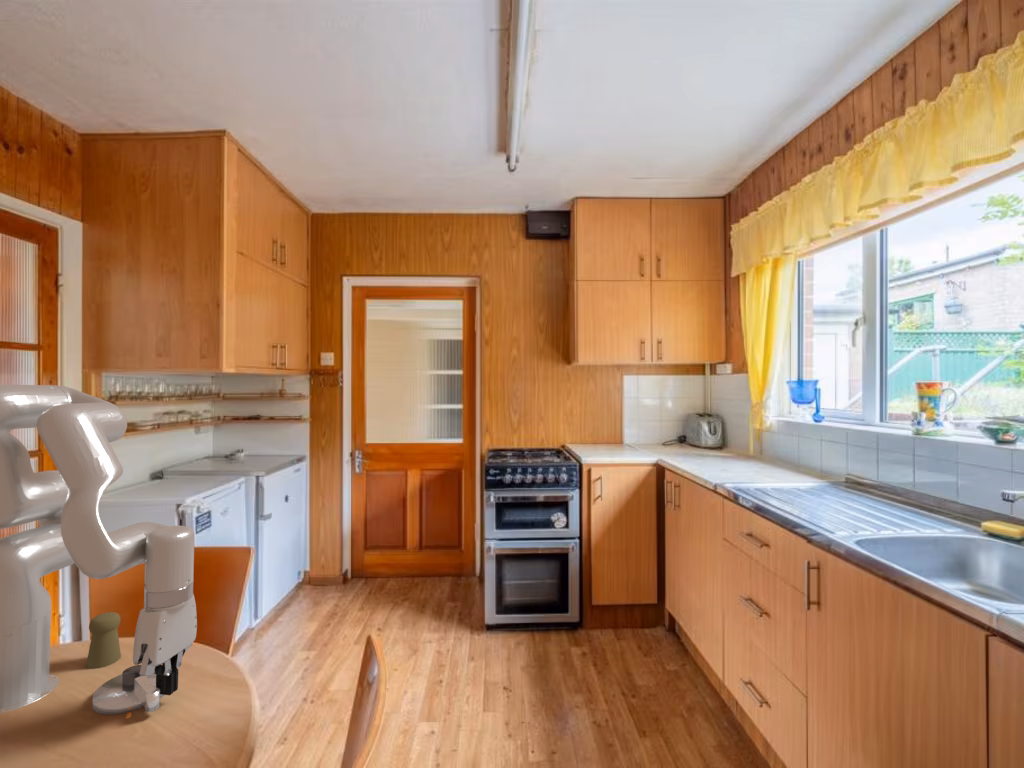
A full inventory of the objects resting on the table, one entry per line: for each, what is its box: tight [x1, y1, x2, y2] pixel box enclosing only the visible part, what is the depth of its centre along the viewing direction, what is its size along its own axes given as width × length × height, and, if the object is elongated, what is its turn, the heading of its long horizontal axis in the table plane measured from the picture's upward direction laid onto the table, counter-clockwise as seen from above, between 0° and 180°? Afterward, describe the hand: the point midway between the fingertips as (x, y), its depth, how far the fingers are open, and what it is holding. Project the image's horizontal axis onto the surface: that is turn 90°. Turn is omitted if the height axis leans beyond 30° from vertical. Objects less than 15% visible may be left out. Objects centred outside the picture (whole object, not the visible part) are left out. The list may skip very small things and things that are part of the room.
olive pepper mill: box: [86, 611, 122, 670], centre depth 104 cm, size 6×6×11 cm
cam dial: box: [92, 664, 164, 716], centre depth 92 cm, size 17×12×4 cm
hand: (166, 691), depth 91 cm, fingers closed
